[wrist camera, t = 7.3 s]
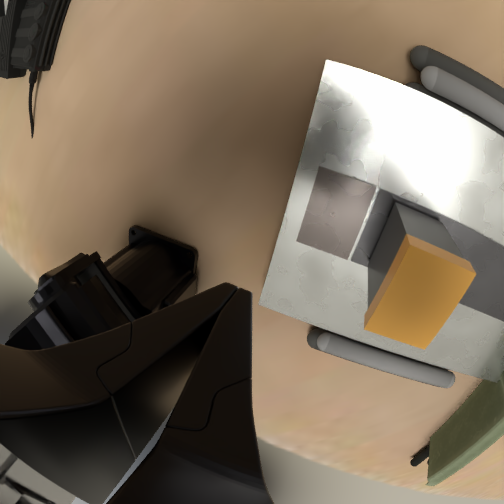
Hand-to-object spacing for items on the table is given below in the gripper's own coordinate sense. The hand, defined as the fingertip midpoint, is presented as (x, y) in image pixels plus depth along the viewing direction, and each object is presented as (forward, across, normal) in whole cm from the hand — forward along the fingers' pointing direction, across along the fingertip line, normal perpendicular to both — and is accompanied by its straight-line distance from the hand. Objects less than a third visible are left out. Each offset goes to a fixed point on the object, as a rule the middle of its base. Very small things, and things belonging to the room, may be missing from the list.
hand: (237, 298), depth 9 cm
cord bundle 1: (+11, -10, -9) cm, 18 cm away
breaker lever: (+9, -6, 0) cm, 11 cm away
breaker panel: (+11, -12, 0) cm, 16 cm away
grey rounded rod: (+11, -11, +9) cm, 18 cm away
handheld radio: (+12, -24, +14) cm, 30 cm away
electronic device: (+12, +36, -8) cm, 39 cm away
